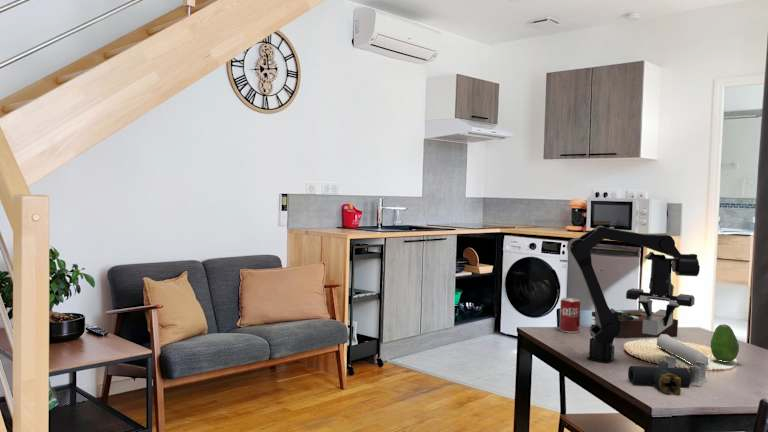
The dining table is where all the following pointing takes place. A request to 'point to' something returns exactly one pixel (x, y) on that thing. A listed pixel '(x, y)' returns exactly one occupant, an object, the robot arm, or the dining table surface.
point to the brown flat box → (638, 325)
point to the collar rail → (695, 371)
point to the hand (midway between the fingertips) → (658, 324)
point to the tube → (681, 349)
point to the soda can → (570, 315)
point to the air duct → (656, 323)
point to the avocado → (724, 343)
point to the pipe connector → (660, 377)
